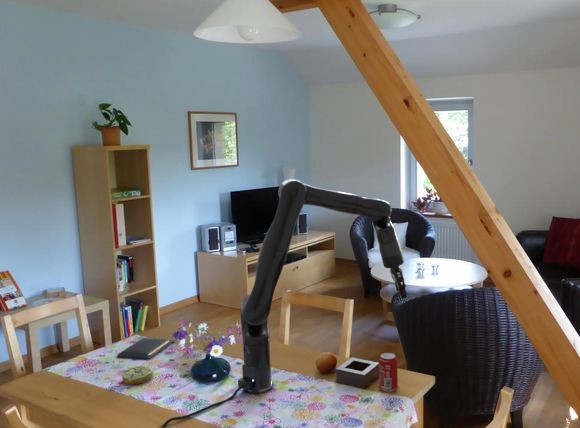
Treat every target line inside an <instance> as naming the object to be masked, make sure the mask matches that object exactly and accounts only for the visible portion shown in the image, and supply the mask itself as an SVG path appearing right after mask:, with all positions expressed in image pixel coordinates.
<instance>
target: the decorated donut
mask: <svg viewBox="0 0 580 428" xmlns="http://www.w3.org/2000/svg"><path fill="white" fill-rule="evenodd" d="M153 375H154V369H153V368H152V367H151V366H150V365H144V364H142V365H135V366H132V367H129V368H128V369H126V370H125V371H123V373H122V374H121V378H122V382H123V383H124V384H125V385H137V384H142V383H145V382H147V381H149V380H151V378H152V377H153Z"/></svg>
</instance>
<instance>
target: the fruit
mask: <svg viewBox="0 0 580 428" xmlns="http://www.w3.org/2000/svg"><path fill="white" fill-rule="evenodd" d="M337 364H338V358H337V356H336V355H335V354H334V353H333V352H331V351H325V352H322V353H321V354H320V355H318V356H317V358H316V360H315V365H316V369H317V370H318V371H319V372H320V373H323V374H330V373H335V371H336V368H337Z"/></svg>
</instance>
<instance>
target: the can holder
mask: <svg viewBox="0 0 580 428" xmlns="http://www.w3.org/2000/svg"><path fill="white" fill-rule="evenodd" d="M377 379H379V362H376V361H372V360H367V359H363V358H357V357H350V358H349V359H347V360H346V361H344V362H343V363H342V364H341V365H339V366H337V367H336V368H335V383H338V384H343V385H347V386H352V387H356V388H360V389H364V390H365V389H367V388H368V387H369V386H370V385H371V384H372V383H373V382H375V381H376V380H377Z"/></svg>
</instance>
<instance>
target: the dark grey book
mask: <svg viewBox="0 0 580 428" xmlns="http://www.w3.org/2000/svg"><path fill="white" fill-rule="evenodd" d="M172 343H174V340H173V339H168V338H167V339H166V338H156V337H142V338H141V339H139V340H137V341H136V342H135V343H133V344H132V345H130V346H128V347H127V348H125V349H123V350H122V351H121V352H119V353H118V354H117V358H120V359H121V358H122V359H138V360H150V359H153V357H155V356H156V355H158V354H159V353H160V352H162V351H163V350H164V349H165V348H167V347H168V346H170V345H171V344H172Z"/></svg>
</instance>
